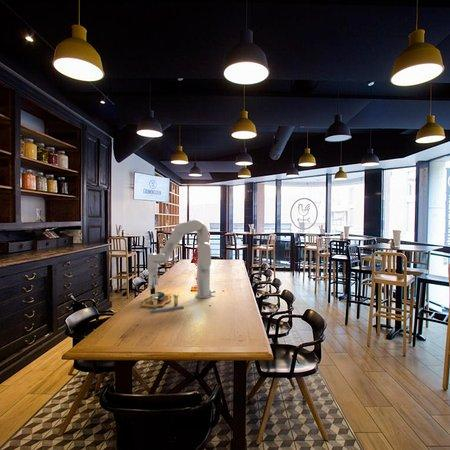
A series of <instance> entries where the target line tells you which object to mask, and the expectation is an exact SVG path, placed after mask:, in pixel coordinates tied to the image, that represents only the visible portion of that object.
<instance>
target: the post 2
mask: <svg viewBox="0 0 450 450" xmlns="http://www.w3.org/2000/svg"><path fill="white" fill-rule="evenodd" d="M172 296H173V306H179V304H178V303H179V302H178V301H179V300H178V299H179V298H178V297H179V296H180V295H179V294H176V293H175V294H173V295H172Z"/></svg>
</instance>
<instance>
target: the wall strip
mask: <svg viewBox="0 0 450 450" xmlns="http://www.w3.org/2000/svg"><path fill="white" fill-rule="evenodd" d="M184 307H185V306H183V304H181V305H178V306H174V305H173V306H167V307H164V308H157V309H153V308H151V309H149V313H150V314H155V313H163V312H170V310H171V311H176V310H184V309H185V308H184Z"/></svg>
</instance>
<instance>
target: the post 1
mask: <svg viewBox="0 0 450 450" xmlns="http://www.w3.org/2000/svg"><path fill="white" fill-rule="evenodd" d="M152 299H153V308H152V309H158V308H157V299H158V297H153V298H152Z"/></svg>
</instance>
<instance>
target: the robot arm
mask: <svg viewBox="0 0 450 450" xmlns="http://www.w3.org/2000/svg"><path fill="white" fill-rule="evenodd" d="M194 232H196V235H197V246H196V247H197V248H196V249H197V261H196V264H197V265H196V266H197V268H196V269H197V272H196V273H197V275H196V276H197V278H196V279H197V283H196V285H197V287H196V288H197V289H196V291H197V292H196V293H195V297H196V298H198V299H208V298H211V297H212V296H213V294H216V290H215V289H214V290H213V289H212V290H211V288H210V287H211V286H210V285H211V282H210V281H211V276H210V275H211V273H210V270H211V268H210V267H211V265H212V251H211V250H212V249H211V245H210V242H209V240H210V238H209V230H208V228H207V225H206V224H205V223H204V222H203V221H201V220H199V219H197V218H195V219H192V220H188V221H186V222H180V223H178V224H176V225H175V227H174V229H173V231H172V232H171V234H170V235H169V237H168V238H167V241H166V243H165V245H163V248H162V249H161V251H160V252H159V253H156V252H150V253H147V273H148V284H149V285H150V287H149V288H150V289H149V290H150V291H149V292H150V293H149V294H150V295H154V294H156V286H158V284H159V278H158V272H159V264H166V263H167V262H168V259H169V258H170V256H171V254H172V253H173V251H174V250H175V249H176V248H177V247H178V245H179V244H180V242H181V240H183V237H184V236H185V235H186V234H190V233H191V234H192V233H194Z"/></svg>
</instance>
